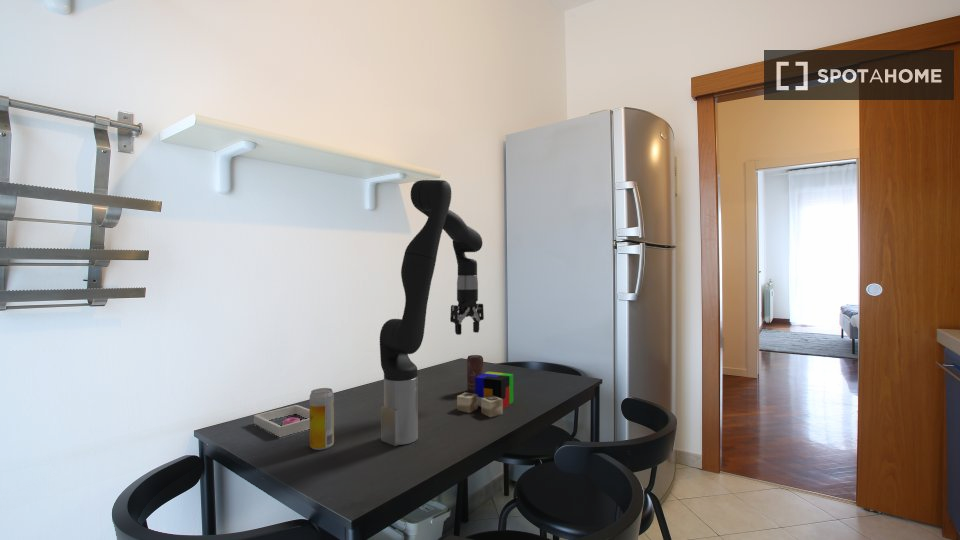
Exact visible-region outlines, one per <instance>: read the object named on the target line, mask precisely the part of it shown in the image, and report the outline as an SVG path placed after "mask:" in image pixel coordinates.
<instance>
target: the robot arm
mask: <svg viewBox="0 0 960 540" xmlns="http://www.w3.org/2000/svg"><path fill="white" fill-rule="evenodd" d="M410 200H411V203H412V205H413V207H415V209H416V210H418V211H419V212H420V213H422V214H423V215H425V216H426V217H427V219H426V221H425V224H424V225H423V227H422V228H421V229H420V231H418V233H417V234H416V235H415V236H414V237H413V238H412V240H411V241H410V242H409V243H408V245H406V248H405V250H404V254H403V259H402V263H401V267H400V276H401V283H402V287H403V290H404V296H405V298H404V299H405V301H404V302H405V304H404V308H403V309H404V310H403V314H402V318H391V319H388V320H386V321H385V323H383V325H382V326H381V328H380V332H379V333H380V334H379V355H380V356H379V357H380V366H381V369H382V371H383V405H382V406H381V407H380V428H381V429H380V434H381V435H380V439H381V442H384V443H386V444H388V445H391V446H393V447H397V446H400V445H408V444H411V443H414V442H416V441H417V440H418V439H419V435H418V434H419V416H418V415H419V410H418V409H419V408H418V407H419V405H418V404H419V403H418V402H419V401H418V396H419V395H418V393H419V392H418V390H419V388H418V387H419V385H418V384H419V383H418V381H419V380H418V378H419V377H418V376H419V375H418V372H419V371H418V367H417V365H416V364H415V363H414V362H413V361H412V360H411V359H410V356H409V355H412V354H415V353H417V351H418V350H419V349H420V347H421V346H422V343H423V340H424V335H425V327H426V316H427V309H428V308H427V307H428V301H429V297H430V291H431V287H432V286H431V285H432V280H433V276H434V272H435V268H436V267H435V266H436V262H437V256H438V252H439V245H440V241H441V237H442V233H443V231H444V232H445V233H446V234H447V236H448V237H449V238H450V239H451V240H452V247H453V250H454V253H455V254H454V255H455V257H456V258H455V259H456V262H457V281H456V301H457V305H456V304H451V305H450V315H449V316H450V319H449V320H450V322H451V323H453V324H454V332H455V335H457V336H460V335H462V322H463V321H464V320H465V319H466V318H468V317H470V318H471V319H472V321H473V322H472V332H473V333H475V334H476V333H479V332H480V322H482V321H484V319H485V313H484V304H483V303H477V302H478V301H479V287H478V286H479V281H478V262H477V260H476V259H473V258H468V257H467V255H466V253H477V252H478V251H480V250H481V249H482V247H483V238H482V236H481V234H480V233H479V232H478V231H476V230H475V229H474V228H472V227H471V226H468V225H467V224H466V222H465V220H464V219H463V218H461V216H460V215H458V214H457V213H456V212H454V211H452V210H450V205H451V202H452V188H451V184H450V183H449V182H448V181H447V180H443V179H422V180H416V181H415V182H414V183H413V184H412V186H411V189H410Z"/></svg>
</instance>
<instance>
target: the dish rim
mask: <svg viewBox="0 0 960 540" xmlns="http://www.w3.org/2000/svg"><path fill="white" fill-rule="evenodd" d="M293 414H298V415H300V416H299V417H301V416H302V417H301V418H303V417H304V418H303V419H305V418H307V419H305V420H301V421H298V422H294V423H290V424H287V425H283V424H282V426H280V425H278V424H279V423H278V424H277V423H276V422H275V421H269V420H271V419H275V418H280V417H284V416H288V415H292V416H294V415H293ZM298 415H297V416H298ZM288 417H289V416H288ZM284 418H285V417H284ZM254 423H255V424H257V425H259V426H261V427H262V428H264V429H266V430H268V431H270V432H272V433H274V434H275V435H277V436H279V437H282V436H286V435H289V434H293V433H297V432H300V433H302V432H301V431H303V432H305V431H304V430H307V431H309V430H308V429H310V408H307V407H304V406H301V405H298V404H294V405H290V406H287V407H282V408H278V409H274V410H271V411H266V412H262V413H257V414H254V415H253V424H254ZM297 434H298V433H297ZM293 435H294V434H293Z"/></svg>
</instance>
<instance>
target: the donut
mask: <svg viewBox="0 0 960 540" xmlns="http://www.w3.org/2000/svg"><path fill="white" fill-rule="evenodd" d="M300 419H302V420H305V418H299V417H293V416H292V417H291V416H290V417H288V418H287V417H286V418H284V420H283V421H282V422H283V424H282V426H283V425H287V424H290V423H294V422H298V421H300Z"/></svg>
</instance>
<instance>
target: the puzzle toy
mask: <svg viewBox="0 0 960 540" xmlns="http://www.w3.org/2000/svg"><path fill="white" fill-rule="evenodd" d="M475 394H477V397H478V407H481V398H485V397H490V396H495V397H498V398H501V399H503V409H505V408H506V407H508V406H509V405H511V404H513V403H514V373H508V372H507V373H504V372H495V371H485V372H483V374H481V375H479V376H477V377H475Z"/></svg>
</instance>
